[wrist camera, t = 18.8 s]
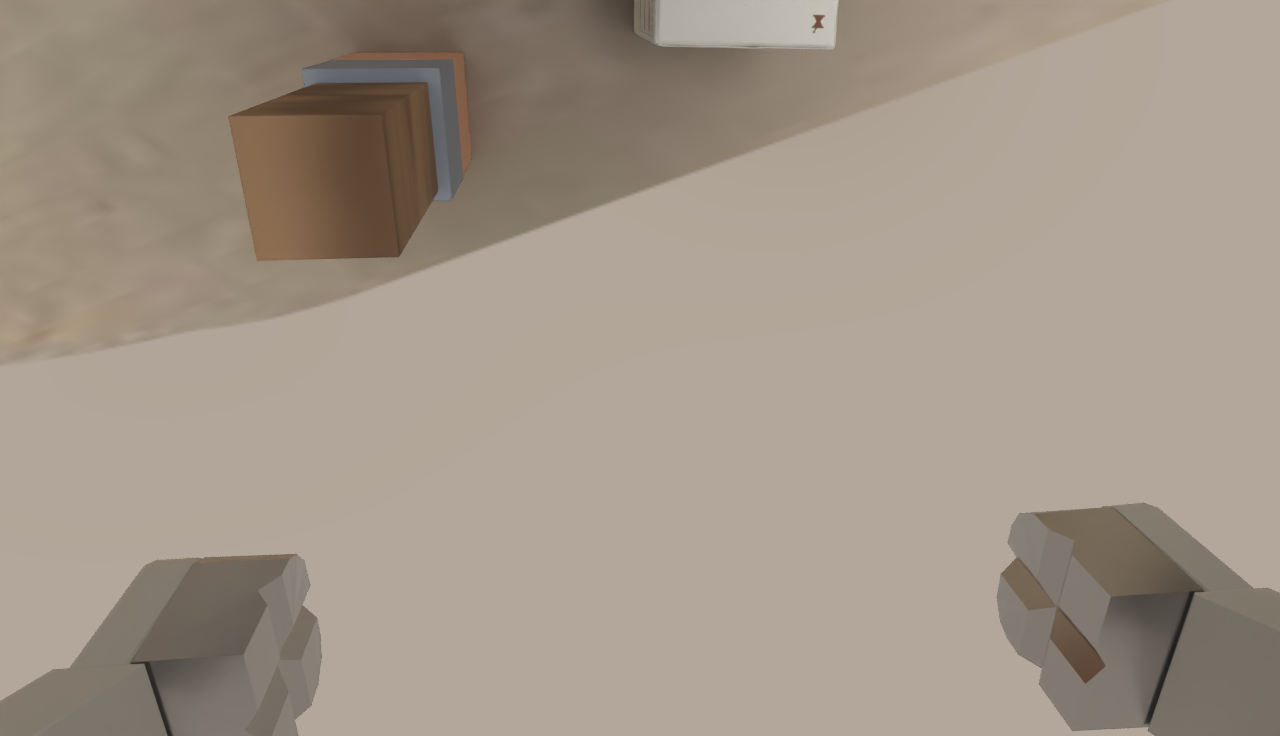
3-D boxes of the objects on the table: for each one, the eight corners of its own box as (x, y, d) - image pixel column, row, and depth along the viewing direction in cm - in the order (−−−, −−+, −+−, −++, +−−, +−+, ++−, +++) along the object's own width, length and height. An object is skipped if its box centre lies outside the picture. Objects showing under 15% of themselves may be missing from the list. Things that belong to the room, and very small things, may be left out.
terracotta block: (369, 160, 45) (348, 179, 40) (355, 52, 43) (331, 59, 38) (471, 159, 45) (462, 177, 41) (463, 52, 43) (452, 58, 39)
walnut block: (332, 192, 36) (257, 260, 27) (315, 83, 34) (228, 116, 25) (438, 190, 36) (399, 256, 27) (427, 82, 34) (381, 114, 25)
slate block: (349, 179, 40) (323, 202, 36) (332, 60, 38) (301, 68, 34) (463, 177, 41) (451, 200, 36) (453, 59, 39) (439, 68, 34)
